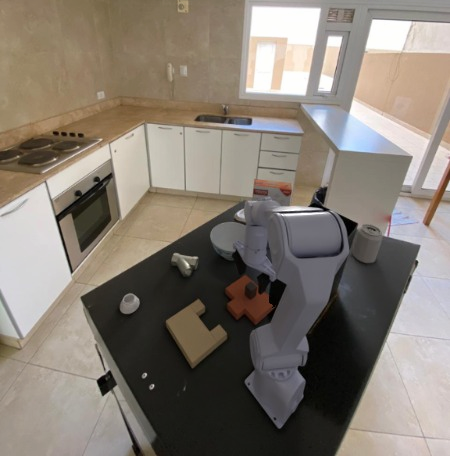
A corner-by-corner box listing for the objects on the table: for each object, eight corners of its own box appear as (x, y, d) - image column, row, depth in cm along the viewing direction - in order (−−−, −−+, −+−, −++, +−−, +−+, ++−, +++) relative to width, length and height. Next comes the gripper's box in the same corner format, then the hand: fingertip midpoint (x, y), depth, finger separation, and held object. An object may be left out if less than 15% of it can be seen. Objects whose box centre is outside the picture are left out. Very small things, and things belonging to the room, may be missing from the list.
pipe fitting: (192, 281, 77) (198, 263, 83) (191, 272, 76) (198, 255, 82) (167, 276, 79) (175, 259, 85) (166, 267, 77) (174, 250, 83)
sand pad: (226, 339, 62) (227, 333, 61) (192, 368, 55) (192, 363, 55) (198, 303, 70) (198, 298, 69) (166, 326, 64) (165, 320, 63)
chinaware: (247, 275, 80) (248, 256, 77) (203, 262, 84) (203, 244, 81) (256, 244, 93) (258, 227, 90) (218, 235, 97) (218, 218, 94)
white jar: (119, 301, 70) (120, 317, 65) (118, 294, 68) (119, 309, 64) (138, 295, 72) (140, 310, 67) (137, 287, 71) (139, 302, 66)
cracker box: (248, 232, 100) (253, 185, 92) (249, 223, 105) (254, 178, 98) (284, 237, 98) (292, 189, 90) (284, 227, 103) (291, 182, 96)
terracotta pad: (275, 307, 70) (277, 292, 68) (247, 332, 63) (249, 316, 61) (245, 279, 78) (246, 265, 76) (217, 298, 72) (218, 284, 70)
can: (375, 254, 91) (384, 227, 86) (374, 268, 85) (383, 239, 80) (352, 246, 94) (360, 219, 90) (350, 258, 88) (358, 230, 84)
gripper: (288, 252, 62) (281, 292, 67) (246, 223, 72) (243, 260, 77) (269, 266, 57) (263, 308, 62) (228, 232, 67) (225, 271, 72)
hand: (251, 282), depth 69 cm, fingers open, 7 cm apart
